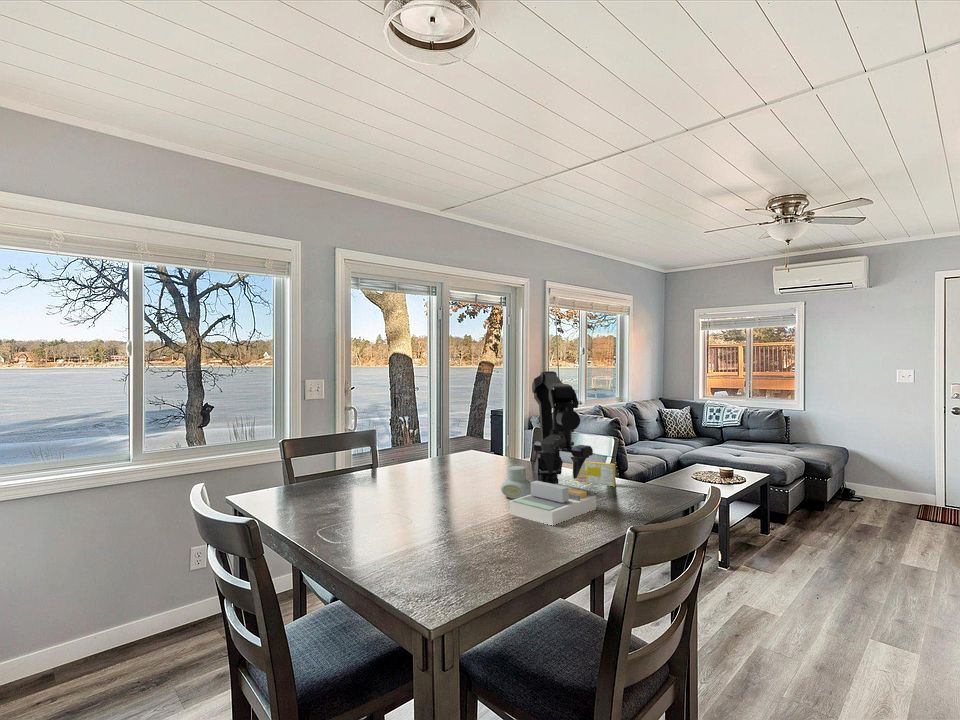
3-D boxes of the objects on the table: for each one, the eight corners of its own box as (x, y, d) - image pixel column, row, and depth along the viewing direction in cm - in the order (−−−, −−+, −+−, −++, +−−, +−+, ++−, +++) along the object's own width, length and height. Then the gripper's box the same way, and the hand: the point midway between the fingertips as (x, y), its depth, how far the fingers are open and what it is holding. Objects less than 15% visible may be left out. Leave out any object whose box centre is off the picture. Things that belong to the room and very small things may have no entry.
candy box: (616, 486, 186) (615, 463, 186) (614, 487, 184) (614, 464, 184) (574, 481, 195) (573, 459, 195) (571, 482, 193) (571, 460, 193)
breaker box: (509, 514, 153) (509, 495, 153) (554, 499, 169) (554, 482, 169) (552, 526, 142) (552, 506, 142) (595, 509, 157) (595, 491, 157)
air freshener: (536, 496, 174) (536, 466, 173) (527, 502, 166) (527, 471, 166) (507, 492, 178) (507, 463, 178) (497, 498, 171) (497, 468, 171)
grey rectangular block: (530, 495, 157) (530, 482, 157) (536, 493, 159) (536, 480, 159) (562, 502, 149) (562, 489, 149) (568, 500, 151) (568, 487, 151)
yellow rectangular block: (547, 491, 163) (547, 486, 163) (555, 489, 166) (555, 484, 166) (579, 498, 155) (579, 493, 155) (586, 496, 157) (586, 491, 157)
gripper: (522, 426, 159) (522, 475, 159) (572, 431, 146) (572, 485, 146) (544, 422, 167) (544, 470, 167) (593, 427, 154) (594, 479, 154)
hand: (562, 476), depth 159 cm, fingers open, 9 cm apart
